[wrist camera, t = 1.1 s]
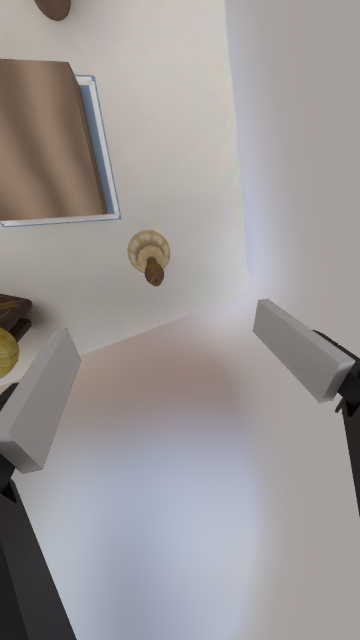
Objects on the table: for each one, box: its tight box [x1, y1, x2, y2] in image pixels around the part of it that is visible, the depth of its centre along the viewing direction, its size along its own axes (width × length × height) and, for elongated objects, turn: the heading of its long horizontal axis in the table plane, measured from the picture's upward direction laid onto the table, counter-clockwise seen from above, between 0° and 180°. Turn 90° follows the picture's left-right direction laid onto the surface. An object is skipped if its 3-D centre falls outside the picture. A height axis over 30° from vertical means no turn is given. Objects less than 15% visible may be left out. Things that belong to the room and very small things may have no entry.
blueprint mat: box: [0, 75, 121, 227], centre depth 27 cm, size 18×16×1 cm
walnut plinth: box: [0, 59, 107, 221], centre depth 25 cm, size 14×14×5 cm
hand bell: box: [128, 230, 170, 286], centre depth 30 cm, size 8×8×16 cm
